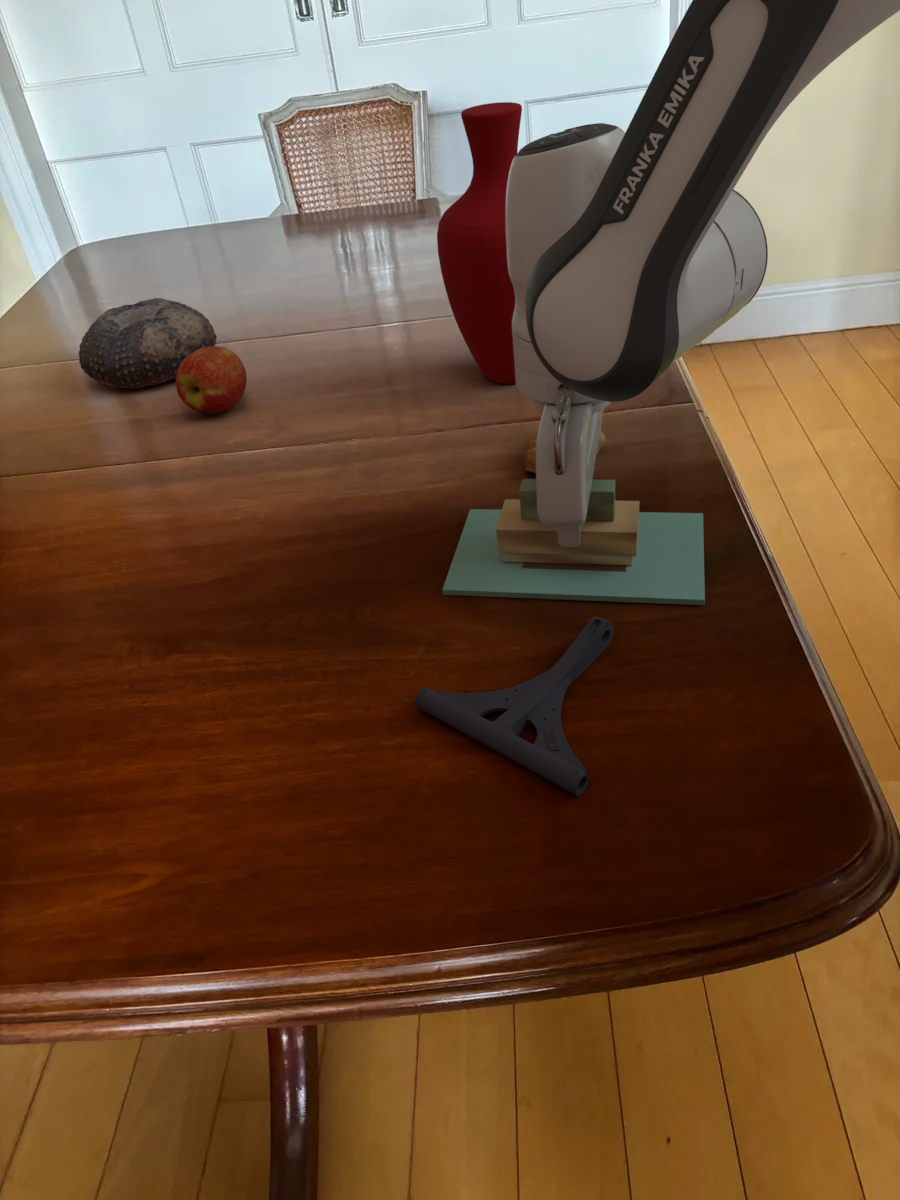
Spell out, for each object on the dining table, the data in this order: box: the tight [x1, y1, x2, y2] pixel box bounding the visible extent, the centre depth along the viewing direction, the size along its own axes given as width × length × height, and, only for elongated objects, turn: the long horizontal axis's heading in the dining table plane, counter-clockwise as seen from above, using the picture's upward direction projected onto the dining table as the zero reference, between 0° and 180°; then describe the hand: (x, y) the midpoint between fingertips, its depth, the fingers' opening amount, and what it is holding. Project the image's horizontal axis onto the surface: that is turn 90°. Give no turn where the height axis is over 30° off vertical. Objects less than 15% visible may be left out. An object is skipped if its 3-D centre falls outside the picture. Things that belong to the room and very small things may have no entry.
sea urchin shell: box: [78, 297, 218, 390], centre depth 125 cm, size 19×19×10 cm
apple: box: [175, 346, 248, 415], centre depth 112 cm, size 8×8×8 cm
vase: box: [436, 101, 523, 385], centre depth 104 cm, size 15×15×30 cm
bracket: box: [413, 616, 615, 797], centre depth 66 cm, size 14×15×3 cm
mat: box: [441, 508, 706, 606], centre depth 80 cm, size 22×13×1 cm, turn 78°
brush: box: [496, 478, 641, 565], centre depth 78 cm, size 12×5×7 cm, turn 78°
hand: (575, 511), depth 78 cm, fingers open, 8 cm apart
